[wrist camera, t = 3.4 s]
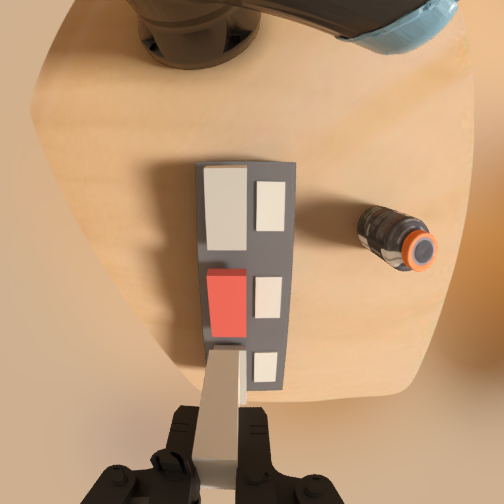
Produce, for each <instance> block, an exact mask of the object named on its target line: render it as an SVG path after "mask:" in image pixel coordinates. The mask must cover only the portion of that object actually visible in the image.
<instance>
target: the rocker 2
mask: <svg viewBox="0 0 504 504" xmlns="http://www.w3.org/2000/svg"><path fill="white" fill-rule="evenodd" d="M213 350H239V370H240V404H247V379H246V345H214V349H213Z"/></svg>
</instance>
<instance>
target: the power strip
mask: <svg viewBox="0 0 504 504" xmlns="http://www.w3.org/2000/svg"><path fill="white" fill-rule="evenodd" d="M223 165H247V242H246V250H207V235H206V216H205V193H204V167H205V166H223ZM295 192H296V163H295V162H264V161H218V162H196V221H197V247H198V267H199V284H200V299H201V312H202V325H203V336H204V347H205V357H206V366H207V360H208V354H209V350H213V349H214V345H246V379H247V391H268V390H282V388H283V378H284V368H285V357H286V346H287V335H288V322H289V309H290V295H291V280H292V263H293V244H294V221H295ZM208 268H210V269H246V337H212V331H211V321H210V311H209V300H208V288H207V271H208Z"/></svg>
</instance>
